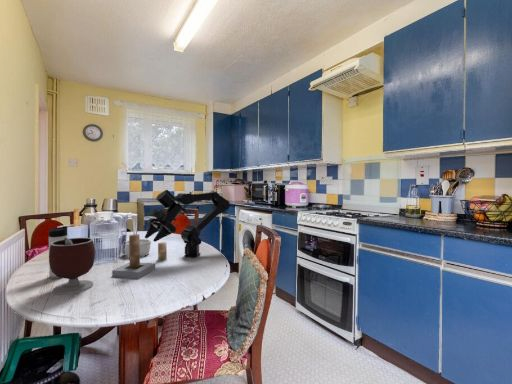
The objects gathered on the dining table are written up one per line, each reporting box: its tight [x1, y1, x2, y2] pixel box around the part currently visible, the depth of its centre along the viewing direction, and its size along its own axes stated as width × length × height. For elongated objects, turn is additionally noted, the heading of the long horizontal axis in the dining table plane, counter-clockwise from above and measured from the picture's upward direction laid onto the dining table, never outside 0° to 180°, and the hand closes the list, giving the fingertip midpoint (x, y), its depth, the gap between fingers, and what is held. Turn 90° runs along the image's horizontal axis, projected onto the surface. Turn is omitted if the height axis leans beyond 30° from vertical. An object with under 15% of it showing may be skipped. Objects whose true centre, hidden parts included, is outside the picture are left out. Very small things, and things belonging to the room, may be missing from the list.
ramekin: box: [124, 238, 152, 258], centre depth 146 cm, size 13×13×7 cm
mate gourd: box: [48, 237, 96, 296], centre depth 100 cm, size 16×14×20 cm
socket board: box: [111, 261, 156, 279], centre depth 118 cm, size 12×12×2 cm
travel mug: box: [48, 225, 69, 280], centre depth 112 cm, size 6×7×20 cm
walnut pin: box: [128, 233, 141, 269], centre depth 117 cm, size 4×4×16 cm
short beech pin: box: [157, 241, 168, 261], centre depth 138 cm, size 4×4×8 cm
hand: (149, 239), depth 128 cm, fingers open, 9 cm apart
